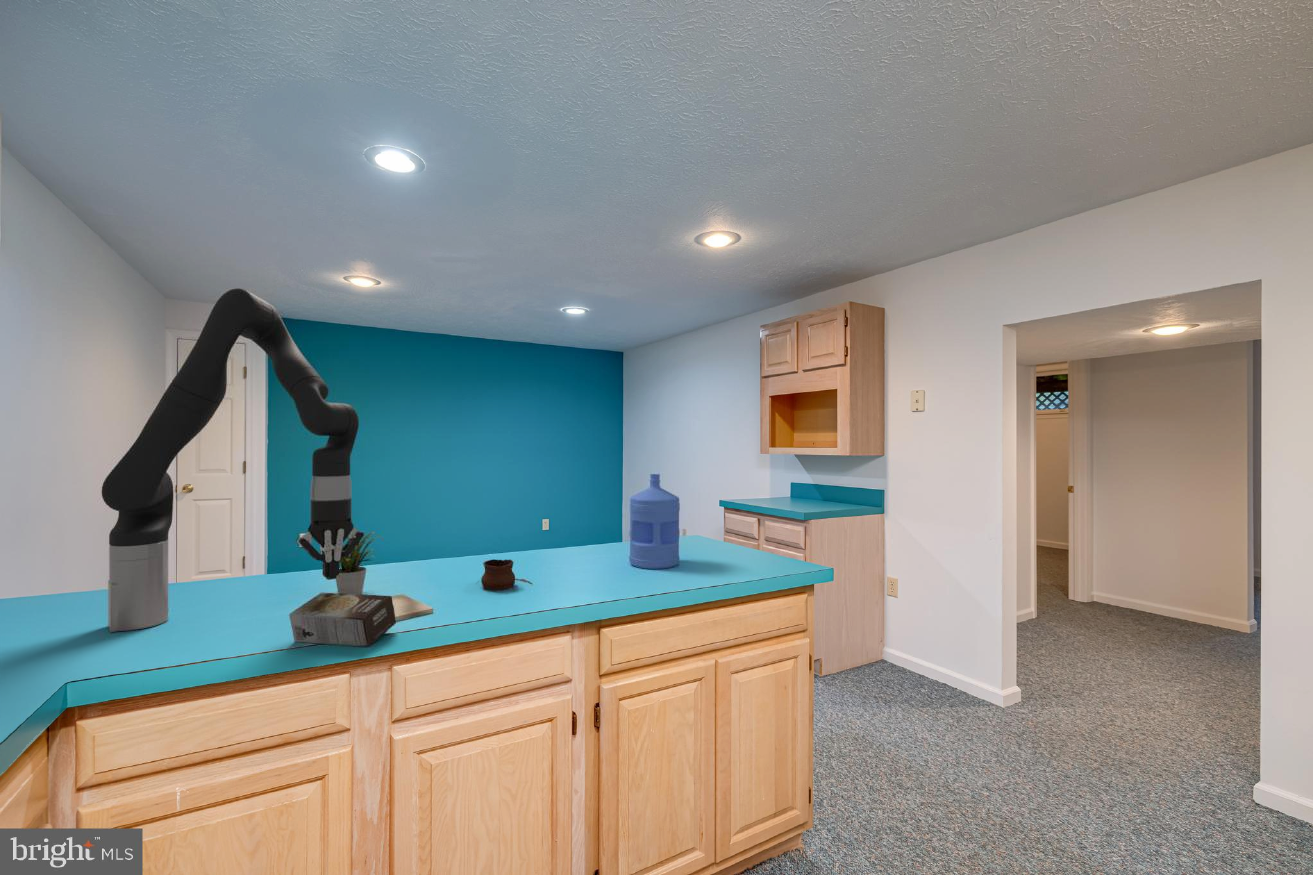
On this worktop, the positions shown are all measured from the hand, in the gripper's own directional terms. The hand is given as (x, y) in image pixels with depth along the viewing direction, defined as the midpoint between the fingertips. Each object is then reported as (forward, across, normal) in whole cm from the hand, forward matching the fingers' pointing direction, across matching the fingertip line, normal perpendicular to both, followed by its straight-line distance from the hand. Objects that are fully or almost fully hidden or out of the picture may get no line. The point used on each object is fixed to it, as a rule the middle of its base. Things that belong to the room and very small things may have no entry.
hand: (331, 578), depth 122 cm
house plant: (+10, +12, +20) cm, 25 cm away
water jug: (+10, +89, -10) cm, 90 cm away
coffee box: (+6, -6, -4) cm, 9 cm away
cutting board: (+10, +9, 0) cm, 13 cm away
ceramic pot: (+10, +40, +1) cm, 42 cm away
